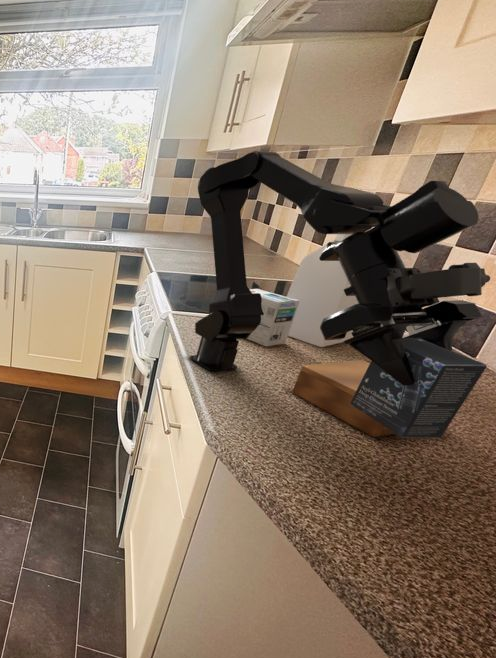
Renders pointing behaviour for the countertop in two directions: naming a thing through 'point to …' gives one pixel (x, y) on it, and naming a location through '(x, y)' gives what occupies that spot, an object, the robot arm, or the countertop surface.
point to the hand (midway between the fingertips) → (428, 383)
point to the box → (419, 390)
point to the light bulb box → (274, 318)
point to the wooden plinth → (337, 392)
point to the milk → (318, 296)
